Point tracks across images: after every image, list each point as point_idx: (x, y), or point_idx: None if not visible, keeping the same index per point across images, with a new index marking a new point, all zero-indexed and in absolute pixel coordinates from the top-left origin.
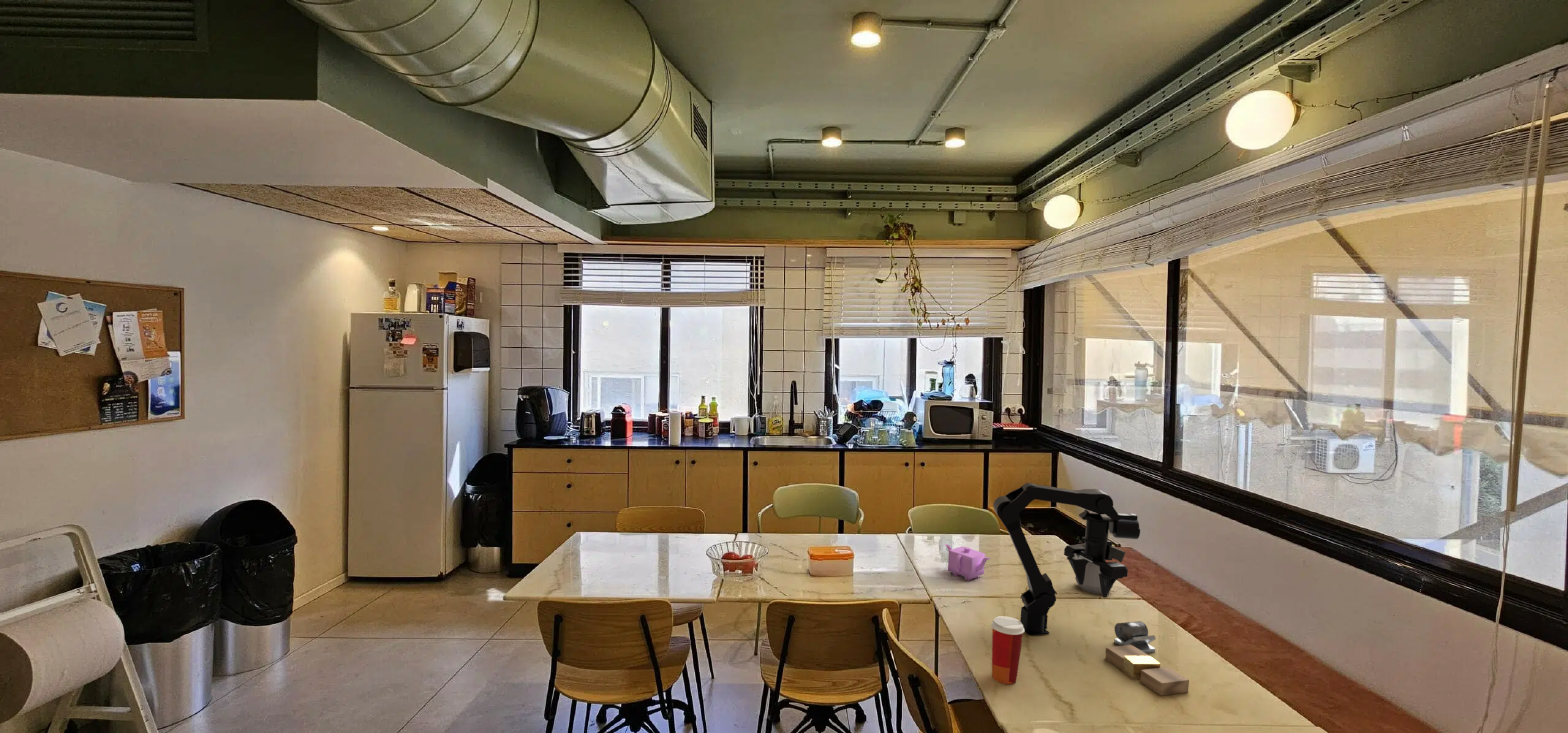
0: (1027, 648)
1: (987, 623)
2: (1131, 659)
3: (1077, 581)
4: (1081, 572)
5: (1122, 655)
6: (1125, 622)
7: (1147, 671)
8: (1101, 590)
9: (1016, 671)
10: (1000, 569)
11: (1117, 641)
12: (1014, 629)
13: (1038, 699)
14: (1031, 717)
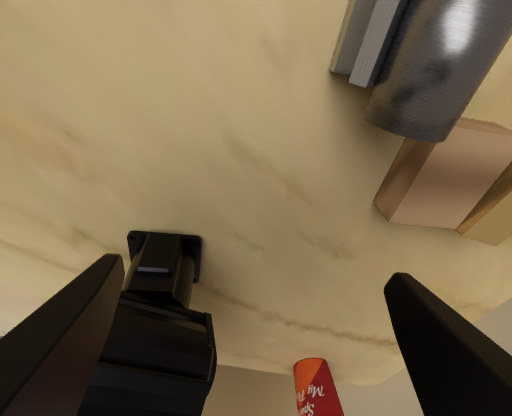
0: (247, 307)
1: None
2: (486, 234)
3: None
4: (53, 400)
5: (446, 218)
6: (431, 85)
7: None
8: (407, 355)
9: (333, 382)
10: None
11: (349, 74)
12: None
13: (371, 358)
14: (387, 375)
